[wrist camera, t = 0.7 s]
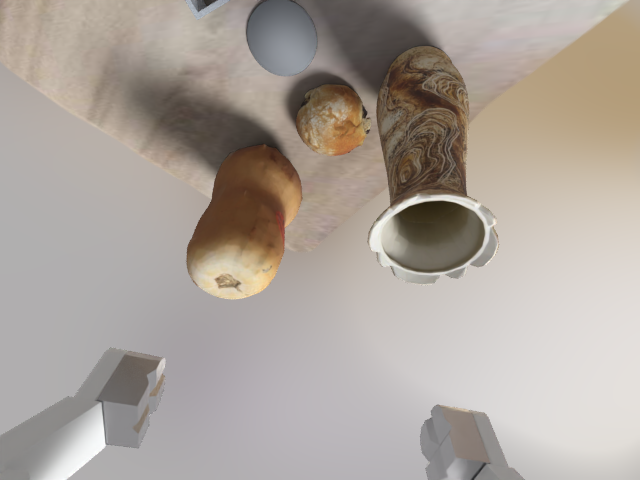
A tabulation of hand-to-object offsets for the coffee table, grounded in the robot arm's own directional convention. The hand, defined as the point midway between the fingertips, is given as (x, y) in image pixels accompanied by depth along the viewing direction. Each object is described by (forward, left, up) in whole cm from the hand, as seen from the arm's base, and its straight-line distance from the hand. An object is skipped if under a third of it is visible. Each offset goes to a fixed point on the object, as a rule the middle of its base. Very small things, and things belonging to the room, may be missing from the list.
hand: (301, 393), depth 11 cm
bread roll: (+9, +11, -47) cm, 49 cm away
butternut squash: (+23, +15, -46) cm, 54 cm away
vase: (-3, +11, -46) cm, 48 cm away
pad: (+11, -1, -46) cm, 48 cm away
